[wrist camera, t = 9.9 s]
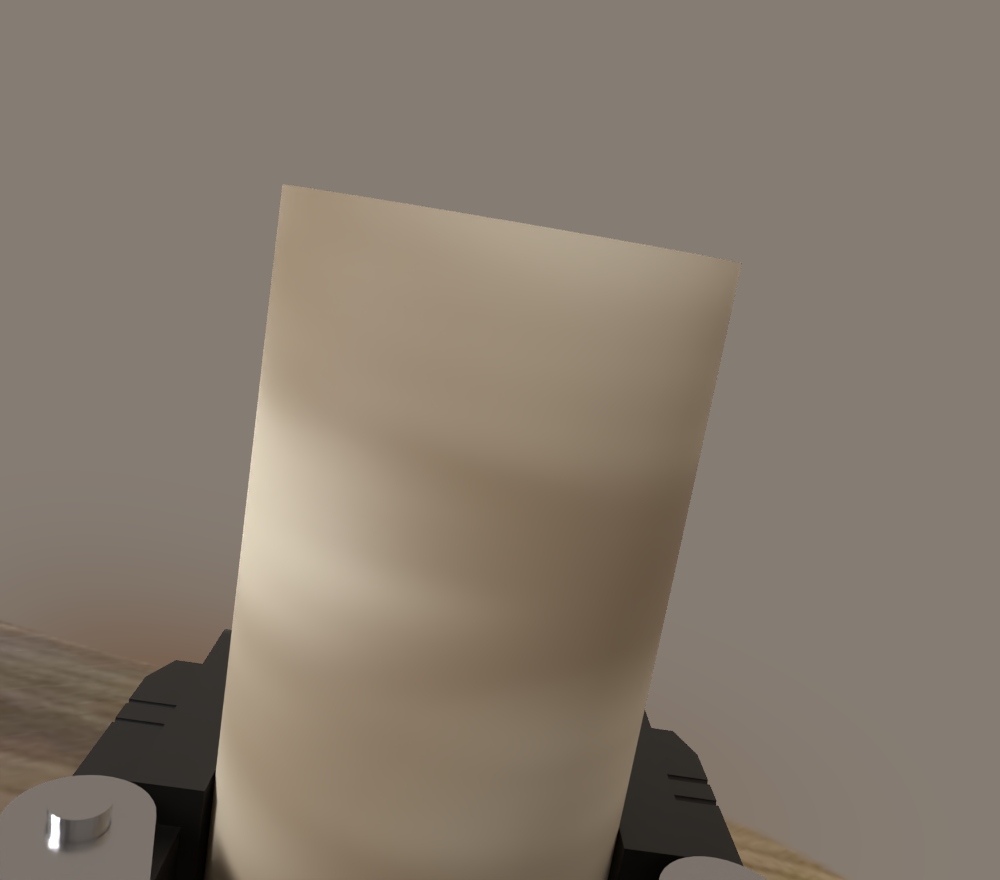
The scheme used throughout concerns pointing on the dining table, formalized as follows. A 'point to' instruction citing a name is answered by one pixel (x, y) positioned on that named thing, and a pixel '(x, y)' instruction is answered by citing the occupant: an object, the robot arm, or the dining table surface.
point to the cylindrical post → (456, 542)
